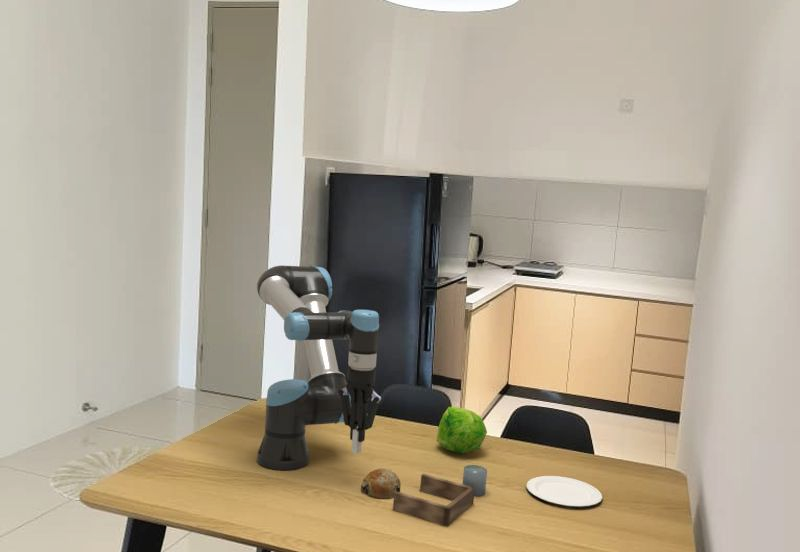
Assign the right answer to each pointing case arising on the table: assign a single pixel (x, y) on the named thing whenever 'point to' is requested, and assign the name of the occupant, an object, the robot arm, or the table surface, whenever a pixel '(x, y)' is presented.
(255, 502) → the table surface
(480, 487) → the grey-blue cylinder
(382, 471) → the bread roll
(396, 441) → the table surface
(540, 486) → the plate
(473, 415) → the lettuce
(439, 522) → the corral
